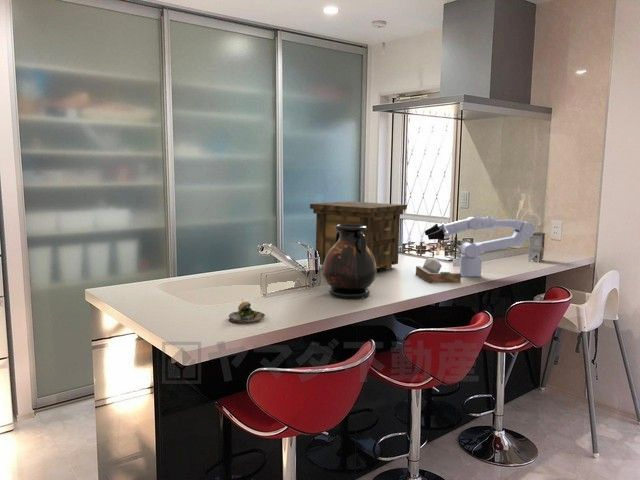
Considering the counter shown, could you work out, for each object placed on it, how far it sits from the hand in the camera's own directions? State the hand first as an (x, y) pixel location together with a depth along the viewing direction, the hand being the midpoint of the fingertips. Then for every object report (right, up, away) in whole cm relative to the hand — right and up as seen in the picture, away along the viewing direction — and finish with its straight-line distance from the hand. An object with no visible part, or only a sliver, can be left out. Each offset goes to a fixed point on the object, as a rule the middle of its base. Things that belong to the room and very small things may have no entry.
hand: (426, 235), depth 255 cm
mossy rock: (-76, -29, -80) cm, 114 cm away
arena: (+4, -20, -6) cm, 21 cm away
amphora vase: (-40, -25, -43) cm, 63 cm away
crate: (-32, -17, +15) cm, 40 cm away
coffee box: (+72, -14, +48) cm, 88 cm away
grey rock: (+3, -19, +3) cm, 20 cm away
